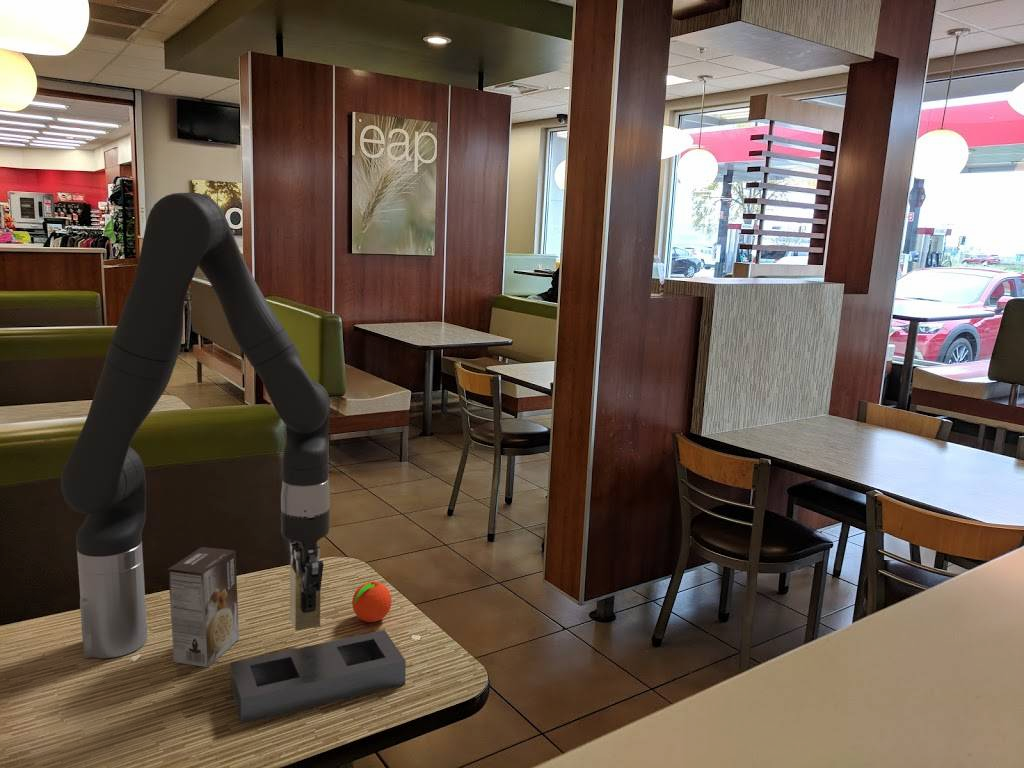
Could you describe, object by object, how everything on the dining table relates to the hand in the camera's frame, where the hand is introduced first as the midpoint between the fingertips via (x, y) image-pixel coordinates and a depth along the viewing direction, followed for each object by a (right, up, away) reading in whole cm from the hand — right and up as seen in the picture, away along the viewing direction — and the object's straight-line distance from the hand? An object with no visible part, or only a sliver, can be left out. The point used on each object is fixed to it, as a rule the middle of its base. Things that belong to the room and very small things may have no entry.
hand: (305, 604), depth 127 cm
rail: (+5, -10, -10) cm, 14 cm away
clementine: (+9, -6, +10) cm, 15 cm away
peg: (0, -3, +1) cm, 3 cm away
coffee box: (-16, -7, -1) cm, 17 cm away
